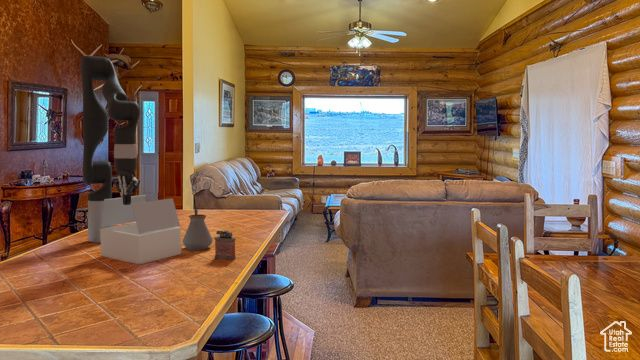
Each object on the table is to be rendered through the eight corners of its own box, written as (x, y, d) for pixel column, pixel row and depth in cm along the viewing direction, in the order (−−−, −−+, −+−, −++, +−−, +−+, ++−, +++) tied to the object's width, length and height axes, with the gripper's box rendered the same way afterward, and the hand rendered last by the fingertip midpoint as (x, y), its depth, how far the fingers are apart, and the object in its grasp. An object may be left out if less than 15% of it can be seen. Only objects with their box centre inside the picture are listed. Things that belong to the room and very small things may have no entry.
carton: (101, 255, 173) (100, 228, 173) (143, 246, 189) (142, 221, 188) (139, 264, 162) (138, 235, 161) (181, 254, 177) (180, 227, 176)
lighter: (237, 258, 171) (237, 230, 170) (232, 260, 168) (232, 232, 167) (217, 256, 174) (217, 229, 173) (212, 258, 170) (212, 230, 170)
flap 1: (101, 227, 173) (100, 226, 173) (142, 220, 187) (141, 219, 187) (105, 199, 170) (104, 199, 171) (145, 195, 185) (144, 194, 185)
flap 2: (131, 203, 162) (132, 203, 162) (171, 198, 177) (172, 198, 176) (139, 233, 161) (139, 233, 161) (179, 225, 176) (180, 225, 175)
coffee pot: (213, 250, 183) (213, 211, 181) (182, 252, 179) (181, 213, 178) (210, 239, 203) (209, 204, 202) (182, 240, 200) (181, 205, 199)
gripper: (104, 156, 171) (106, 204, 173) (127, 157, 164) (129, 207, 165) (123, 156, 177) (124, 202, 179) (146, 157, 170) (147, 205, 172)
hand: (127, 204), depth 172 cm, fingers closed
